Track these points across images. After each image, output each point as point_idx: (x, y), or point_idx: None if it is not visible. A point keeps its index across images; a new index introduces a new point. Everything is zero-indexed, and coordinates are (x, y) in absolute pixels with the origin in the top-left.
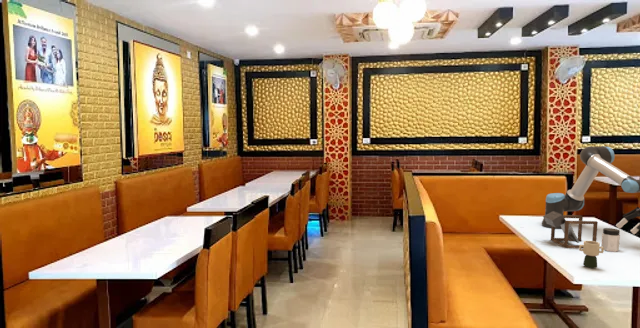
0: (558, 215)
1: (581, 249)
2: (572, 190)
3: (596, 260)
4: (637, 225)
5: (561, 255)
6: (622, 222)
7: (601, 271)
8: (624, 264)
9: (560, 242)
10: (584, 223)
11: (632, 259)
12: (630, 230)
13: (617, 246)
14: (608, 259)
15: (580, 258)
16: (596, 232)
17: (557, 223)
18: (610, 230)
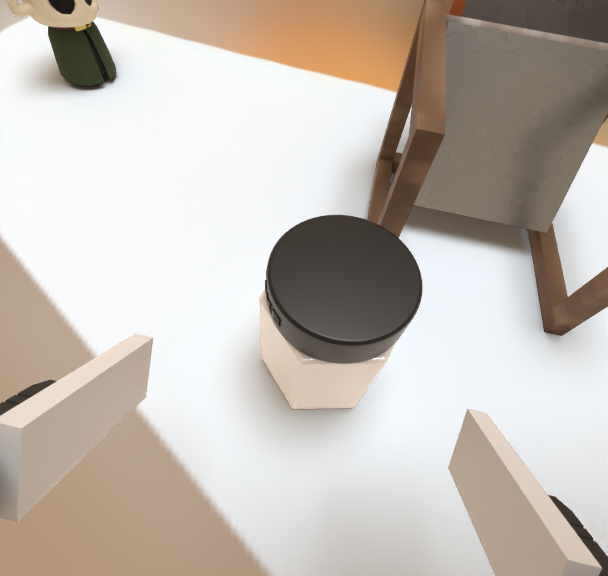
0: None
1: None
2: None
3: (51, 44)
4: (49, 386)
5: (261, 88)
6: (501, 503)
7: (32, 75)
8: (41, 203)
9: None
10: (415, 77)
11: (81, 317)
12: (150, 338)
13: (270, 360)
14: (143, 198)
15: (202, 115)
16: (384, 211)
17: (453, 11)
18: (306, 233)
